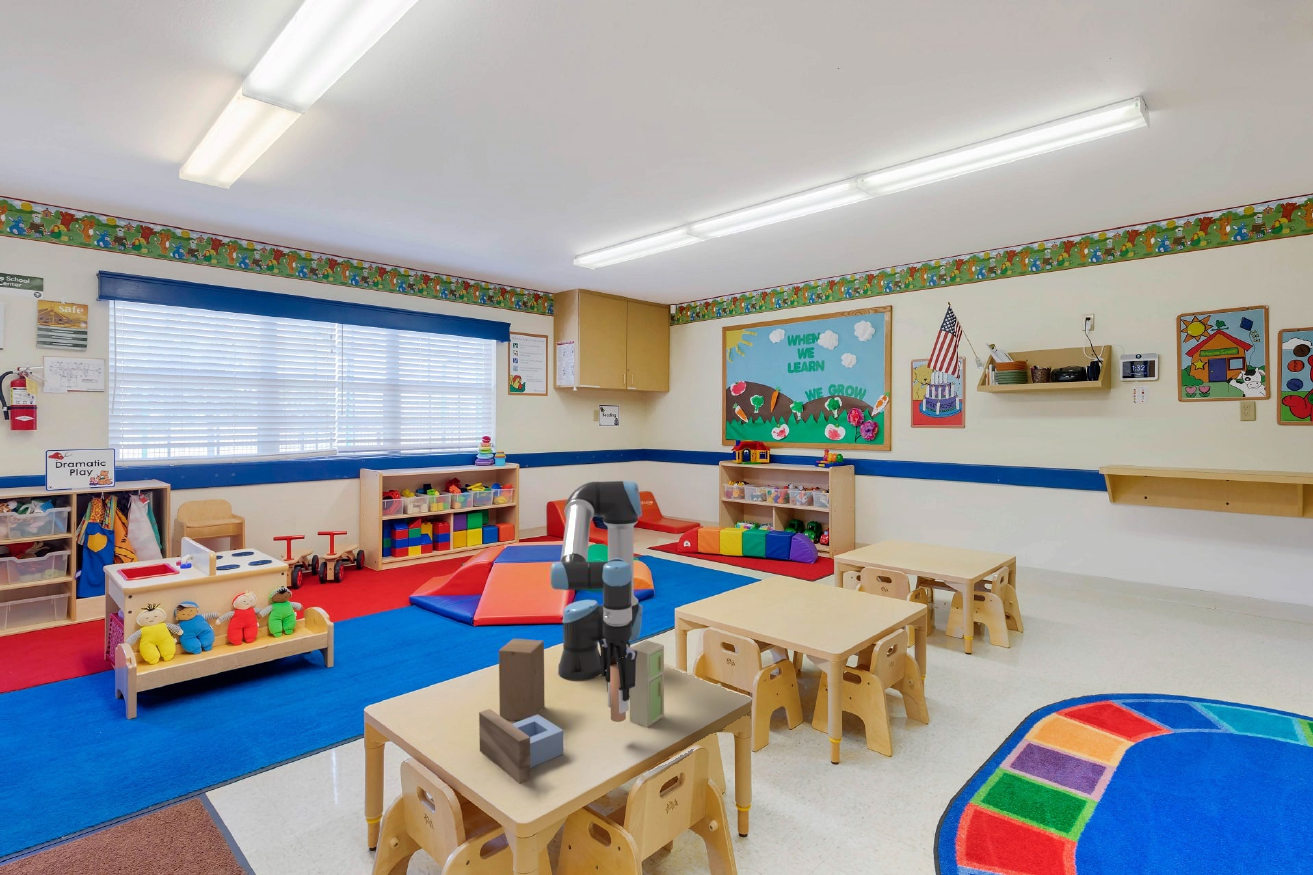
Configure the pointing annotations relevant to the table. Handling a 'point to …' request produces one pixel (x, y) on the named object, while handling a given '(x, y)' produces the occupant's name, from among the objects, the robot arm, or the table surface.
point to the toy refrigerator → (648, 684)
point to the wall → (505, 745)
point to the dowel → (615, 694)
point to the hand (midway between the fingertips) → (618, 708)
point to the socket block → (541, 738)
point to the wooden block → (521, 679)
